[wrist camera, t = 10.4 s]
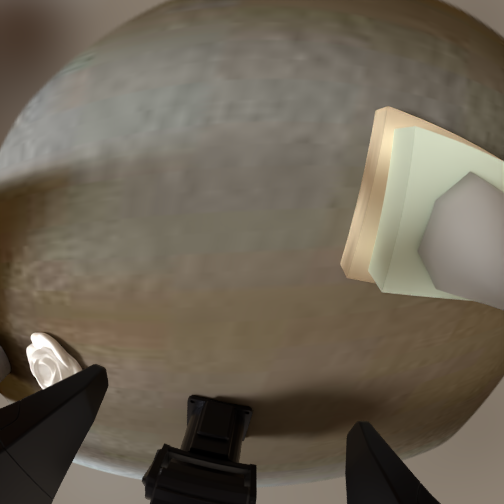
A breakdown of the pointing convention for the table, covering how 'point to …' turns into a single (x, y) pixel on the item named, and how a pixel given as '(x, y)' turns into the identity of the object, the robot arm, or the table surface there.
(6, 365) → the pillar candle
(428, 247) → the flask
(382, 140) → the tower base
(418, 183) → the tower top
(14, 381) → the table surface
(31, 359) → the rose
